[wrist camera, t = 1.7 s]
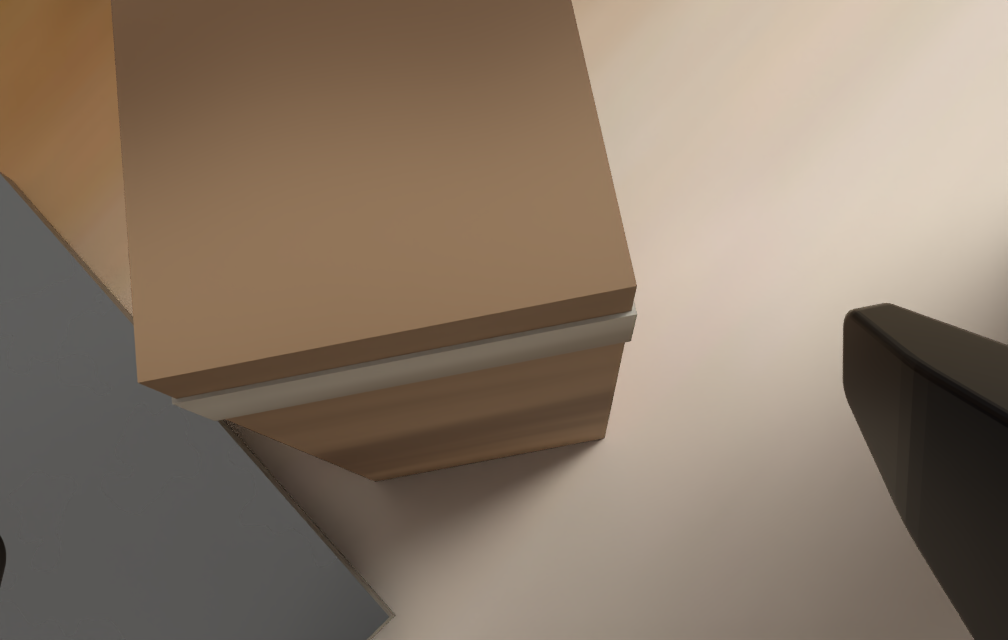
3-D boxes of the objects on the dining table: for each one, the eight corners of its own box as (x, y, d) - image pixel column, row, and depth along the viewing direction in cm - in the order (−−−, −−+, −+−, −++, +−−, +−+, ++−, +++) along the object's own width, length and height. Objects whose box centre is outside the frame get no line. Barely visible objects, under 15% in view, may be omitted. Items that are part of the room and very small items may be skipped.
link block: (607, 440, 19) (643, 289, 9) (373, 484, 20) (133, 388, 9) (560, 221, 21) (544, -137, 10) (343, 263, 21) (103, -46, 10)
